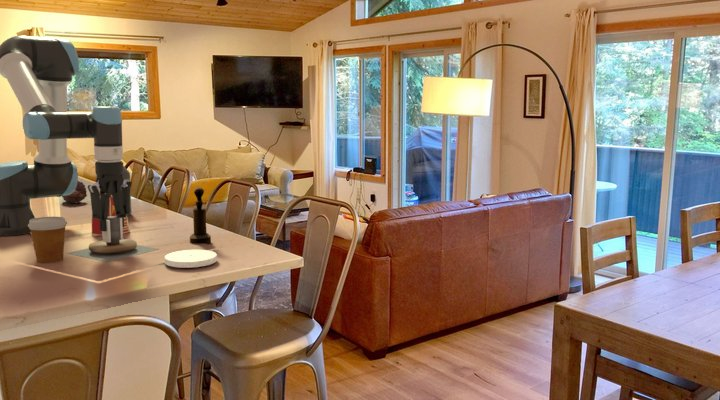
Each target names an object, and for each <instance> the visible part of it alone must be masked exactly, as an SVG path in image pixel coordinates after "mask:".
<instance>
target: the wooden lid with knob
mask: <svg viewBox="0 0 720 400" xmlns="http://www.w3.org/2000/svg"><path fill="white" fill-rule="evenodd" d="M107 220H110V233H111V242H109V243H108V242H103V241H102V240H98V241H94V242H92V243H90V244H89V245H88V248H89V250H90V251H92V252H96V253H117V252H124V251H129V250H132V249H135V248H136V247H137V245H138V243H137V241H135V240H133V239H124V238H123V240H119V217H117V216H110V217H107Z"/></svg>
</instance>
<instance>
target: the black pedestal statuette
mask: <svg viewBox="0 0 720 400" xmlns="http://www.w3.org/2000/svg"><path fill="white" fill-rule="evenodd" d="M204 193H205V189H204V188H203V187H202V186H201V187H200V186H197V187H195V188H194V189H193V194H194V195H195V197H196V200H195V202H194V203H195V206H196V208H195V207H194V208H192V216H193V218H192V221H193V224H192V225H193V233H192V234H191V235H190V236H189V244H193V245H203V244H205V245H209V244H211V243H212V241H211V240H212V239H211V238H212V236H211V234H209V233H208V232H207V214H206V212H207V209H206V208H205V207H203V204H204V201H203V200H202V199H203V195H204Z"/></svg>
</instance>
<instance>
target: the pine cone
mask: <svg viewBox="0 0 720 400" xmlns="http://www.w3.org/2000/svg"><path fill="white" fill-rule="evenodd" d="M87 196H88V194H87V188H86V185H85V184H84V182H83V181H80V180H78V182H77V186H76V189H75V190H74V191H73V193H72V194H70V195H65V196H61V197H62V198H63V200H64V201H65V202H66V203H73V204H78V203H80V202H82V201H84V200H85V199H86V198H87Z"/></svg>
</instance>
